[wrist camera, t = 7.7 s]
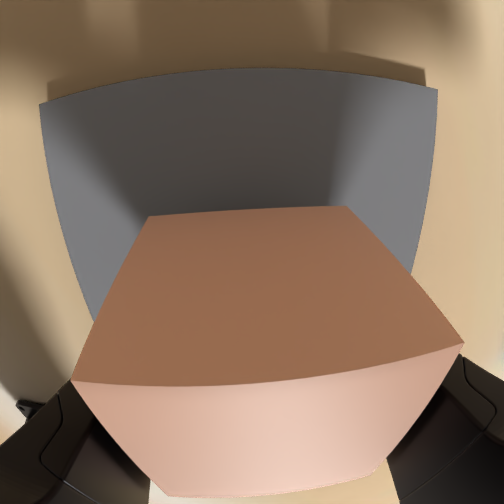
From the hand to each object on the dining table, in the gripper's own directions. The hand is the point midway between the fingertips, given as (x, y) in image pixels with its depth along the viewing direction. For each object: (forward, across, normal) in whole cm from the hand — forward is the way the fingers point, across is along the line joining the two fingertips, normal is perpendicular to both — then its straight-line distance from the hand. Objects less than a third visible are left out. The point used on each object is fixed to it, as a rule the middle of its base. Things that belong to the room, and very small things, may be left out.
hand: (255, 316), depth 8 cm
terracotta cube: (+1, 0, 0) cm, 1 cm away
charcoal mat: (+3, 0, 0) cm, 3 cm away
